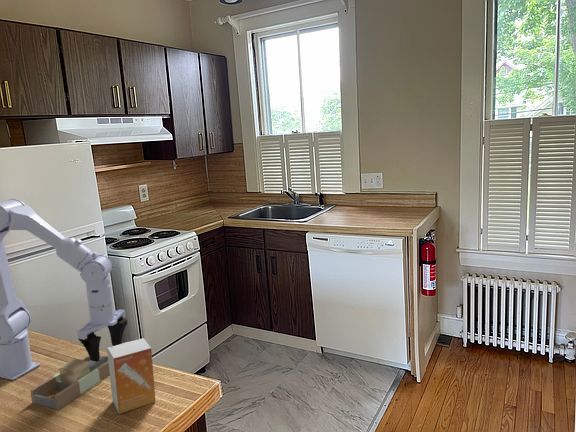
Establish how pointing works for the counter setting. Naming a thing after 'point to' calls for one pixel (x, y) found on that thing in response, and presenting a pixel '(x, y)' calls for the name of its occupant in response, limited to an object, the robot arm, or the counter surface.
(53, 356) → the counter surface
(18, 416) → the counter surface
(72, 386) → the board
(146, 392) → the small box
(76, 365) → the maple block
